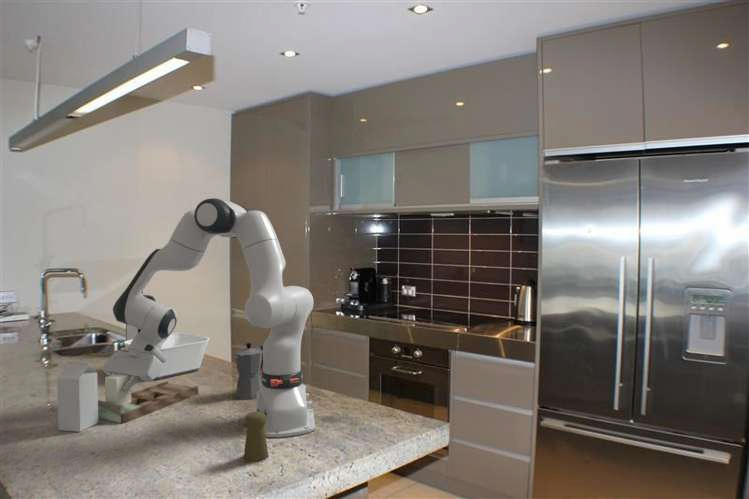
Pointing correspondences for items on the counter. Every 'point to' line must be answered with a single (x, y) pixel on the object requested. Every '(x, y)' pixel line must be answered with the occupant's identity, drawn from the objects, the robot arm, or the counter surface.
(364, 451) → the counter surface
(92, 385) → the milk carton
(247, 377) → the coffeepot
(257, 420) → the olive tapered knob-topped piece
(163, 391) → the box
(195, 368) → the tub
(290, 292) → the robot arm
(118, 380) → the cream block
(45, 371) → the counter surface
